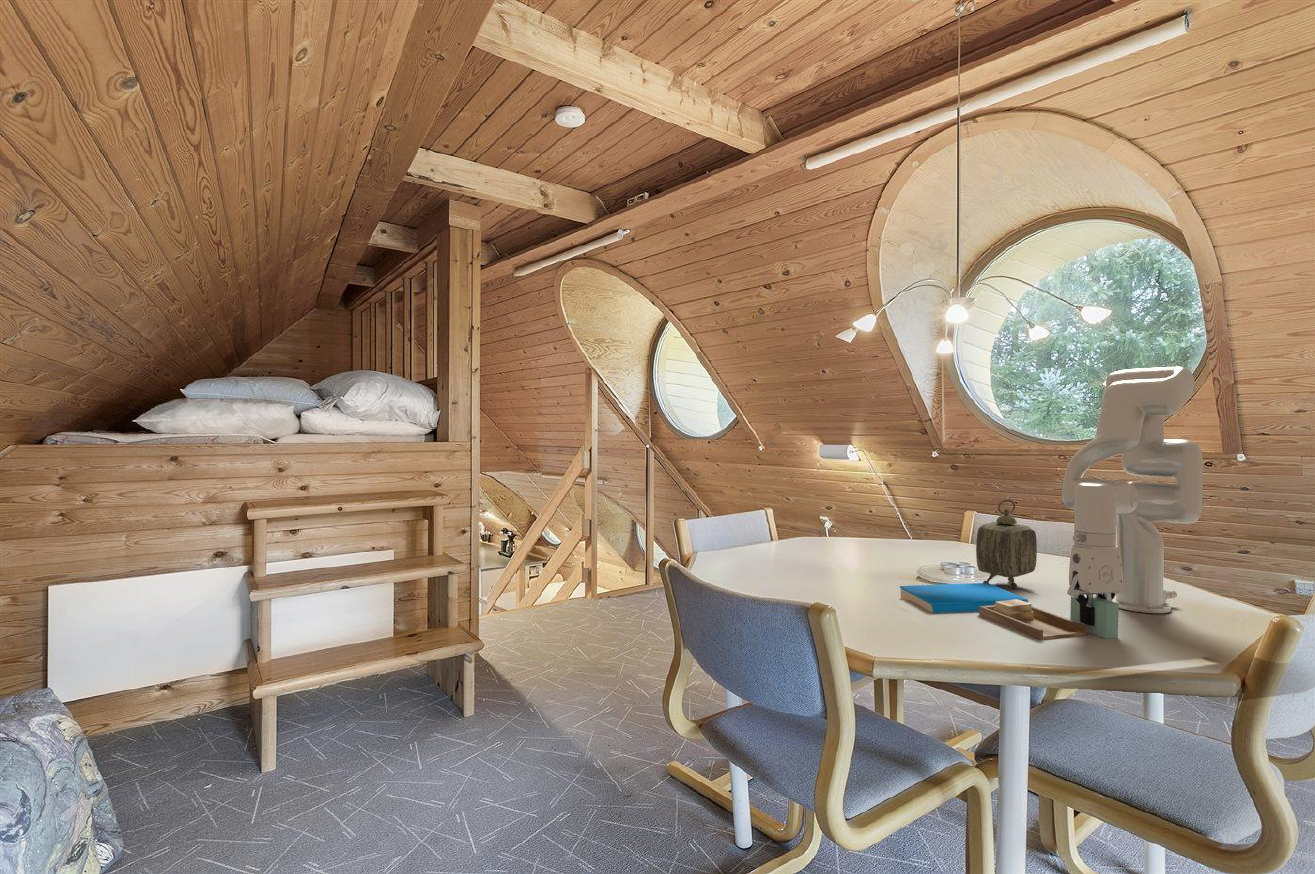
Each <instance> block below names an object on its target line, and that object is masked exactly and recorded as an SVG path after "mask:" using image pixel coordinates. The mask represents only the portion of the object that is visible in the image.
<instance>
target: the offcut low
mask: <svg viewBox="0 0 1315 874" xmlns="http://www.w3.org/2000/svg"><path fill="white" fill-rule="evenodd" d="M994 611H996V612H998V613H1001V614H1003V615H1006V616H1009V617H1011V618H1014V619H1016V620H1019V621H1024V620H1034V612H1033V611H1032V612H1025V613H1017V614H1007V613H1004V612H1002V611H999V610H996V609H994Z"/></svg>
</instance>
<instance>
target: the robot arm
mask: <svg viewBox="0 0 1315 874" xmlns="http://www.w3.org/2000/svg"><path fill="white" fill-rule="evenodd" d="M1105 387H1106V388H1105V391H1104V392H1103V396H1102V397H1103V398H1102V402H1101V405H1100V413H1099V418H1098V421H1097V425H1096V426H1097V427H1096V434H1095V436H1094V437H1093V439H1092V440H1090V441H1088V442H1087V443H1086V444H1085V445H1083V446H1081V448H1080V449H1079V450H1077V451H1076V452H1075V453H1074V455H1073V456H1072V458H1071V459H1070V460H1069V462H1068V463H1067V466H1066V469H1065V474H1064V477H1063V482H1062V487H1061V499H1062V503H1063V504H1064V505H1065V507H1067V509H1070V510H1071V511H1072V510H1073V511H1074V512H1073V513H1074V520H1073V521H1074V523H1073V525H1074V526H1073V527H1074V532H1073V535H1072V540H1073V543H1074V544H1072V548H1071V551H1070V552H1071V553H1070V557H1069V558H1070V559H1069V567H1068V569H1069V570H1068V583H1069V587H1068V589H1067V592H1066V593H1067V595H1068V596H1070V597H1071V596H1072V597H1074V598H1075V599H1076V600H1077V603H1078V604H1080V622H1082V623H1084V624H1087V625H1090V626H1094V620H1095V608H1094V607H1092V604H1093V596H1094V595H1095V596H1096V597H1099V598H1102V599H1106V600H1109V601H1112V602H1115V603H1118V604H1119V609H1122V610H1125V611H1126V610H1127V611H1130V612H1136V613H1137V612H1138V613H1144V614H1166V613H1170V612H1171V611H1172V606H1171V604H1169V603H1167V602H1166V601H1167V600H1168V599H1176V598H1177V597H1178V593H1177V591H1175V590H1166V589H1164V570H1165V569H1164V565H1165V564H1164V559H1165V558H1164V556H1165V554H1164V551H1165V543H1164V542H1165V541H1164V538H1163V536H1162V534H1161V531H1159V529H1157V527H1156V526H1155V524H1153V523H1152V522H1156V523H1157V522H1158V523H1171V524H1182V525H1183V524H1185V525H1190V524H1195V523H1196V522H1198V521H1199V519H1200V517H1201V515H1202V510H1203V507H1202V506H1203V475H1204V471H1203V470H1204V461H1203V459H1204V457H1203V452H1202V450H1201V448H1200V445H1199V444H1198V443H1197V442H1195V441H1193V440H1189V439H1177V438H1176V439H1174V438H1173V439H1169V438H1167V439H1166V438H1165V419H1164V416H1173V415H1176V414H1177V413H1178V412H1180V410H1181V409H1182V408H1183V407H1184V405H1186V404H1187V402H1188V401H1189V400H1190V398H1191V397H1192V395H1193V392H1194V390H1195V376H1194V375H1193V373H1192V371H1191V370H1189V369H1188V368H1187V367H1185V366H1166V367H1151V368H1150V367H1149V368H1148V367H1145V368H1143V367H1142V368H1131V369H1122V370H1117V371H1114V372H1111V373H1110V374H1108V376H1107V377H1106V379H1105ZM1116 456H1120V457H1121V458H1120V459H1121V461H1120V462H1121V467H1122V470H1123V472H1125V473H1126V474H1128V475H1131V476H1136V477H1147V478H1163V479H1164V478H1165V479H1174V480H1176V483H1162V482H1149V481H1147V482H1146V481H1123V480H1116V479H1115V480H1112V479H1111V480H1110V479H1101V478H1097V479H1095V478H1083V477H1084V475H1085V473H1086V472H1087V471H1088V470H1089V469H1090V468H1091V467H1093V466H1094V465H1096V464H1098V463H1100V462H1103V461H1105V460H1108V459H1111V458H1113V457H1116ZM1084 594H1085V595H1087V597H1086V598H1085V596H1084Z"/></svg>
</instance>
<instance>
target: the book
mask: <svg viewBox="0 0 1315 874" xmlns="http://www.w3.org/2000/svg"><path fill="white" fill-rule="evenodd" d="M899 588H900V600H901V601H902V600H903V601H904V600H908V601H911V602H912V603H914V604H916V605H918V606H920V607H922V608H924V610H927V611H929V612H930V613H932V614H944V613H945V614H946V613H947V614H948V613H969V612H970V613H972V612H979V606H991V605H995V602H997V601H1006V600H1015V599H1018V600H1021V601H1024V602H1027V603H1029V599H1028V598H1025V597H1022V596H1021V595H1018V594H1015V593H1013V592H1010V591H1008V590H1006V589H1004V588H1001V587H1000V586H997V585H994V584H991V583H990V582H989V583H983V582H976V583H950V584H949V583H946V584H945V583H944V584H923V585H922V584H921V585H918V584H916V585H900V586H899Z"/></svg>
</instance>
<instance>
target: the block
mask: <svg viewBox="0 0 1315 874" xmlns="http://www.w3.org/2000/svg"><path fill="white" fill-rule="evenodd" d="M1084 596H1085V598H1086V597H1087V595H1085V594H1084ZM1092 607H1094V608H1095V620H1094V626H1090V625H1087V624H1084V623H1082V622H1080V604H1078V603H1077V600H1076V599H1075V598H1074V597H1072V596H1070V611H1069V612H1070V614H1069V615H1070V616H1069V617H1070V618H1069V620H1072V621H1075V622H1078V623H1080V624H1083V625H1086V626H1087V633H1089V634H1092V635H1095V636H1098V637H1100V638H1103V639H1106V640H1108V639H1116V638H1117V639H1118V637H1119V613H1120V612H1119V609H1120V608H1119V604H1118V603H1115V602H1112V601H1109V600H1106V599H1102V598H1099V597H1096V595H1093V604H1092Z"/></svg>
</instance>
